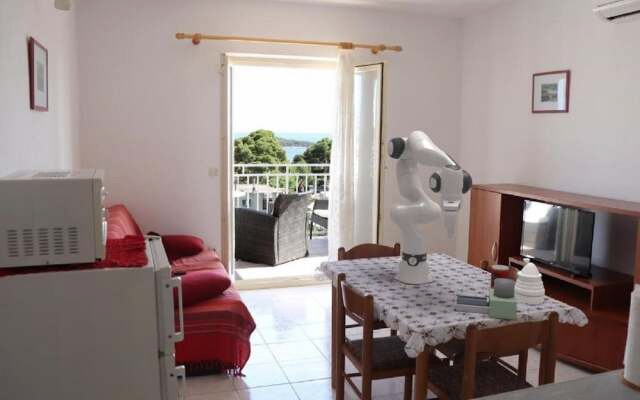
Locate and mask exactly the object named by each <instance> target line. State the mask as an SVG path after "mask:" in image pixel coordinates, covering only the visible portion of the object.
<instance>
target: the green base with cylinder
mask: <svg viewBox="0 0 640 400" xmlns="http://www.w3.org/2000/svg"><path fill="white" fill-rule="evenodd" d="M515 284H516V281H515V280H513V279H511V278H510V279H509V278H508V279H505V278H498V279H495V280H494V289H491V287H490V288H489V290H488V292H489V293H488V300H487V307H484V306H473V305H462V304H457V303H456V305H455V307H456V308H455V311H456V312H465V313H475V314H486V315H488V317H489V318H496V319H503V320H505V319H506V320H517V309H518V308H517V307H518V306H517V305H518V303H517V301H516V296H515V292H514V290H515Z"/></svg>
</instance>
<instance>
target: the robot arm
mask: <svg viewBox="0 0 640 400" xmlns="http://www.w3.org/2000/svg"><path fill="white" fill-rule="evenodd" d="M387 153H388V156H389V157H390V158H391V159H394V160H398V161H396V163H395V174H396V180H397V184H398V185H397V186H398V191H399V194H400V195H401V197H402V198H404V199H406V200H408V201H402V202H397V203H395V204H392V205H391V207H390V210H389V218H390V220H391V222H392V223H393V224H394V225H396V226H397V227H398V229H399V230H400V232H401V236H402V251H401V261H399V262H398V267H397V268H398V271H397V274H396V275H395V276H394V280H397V281H399V282H402V283H405V284H412V285H422V284H423V285H424V284H427V283H433V282H434V280H433V279H434V278H433V277H432V275H431V271H430V265H429V263H428V262H427V258H428V255H427V237H426V236H425V234H424V233H423V232H421V231H419V230H417V228H416V227H417V225H430V224H434V223H438V222H439V221H440V219H441V217H442V211H443V219H444V220H443V221H444V228H445V229H446V230H447V231H446V233H447V238H448V239H452V237H453V234H454V229H455V227H456V226H455V225H456V222H457V214H458V213H459V212H460V209H462V208H463V199H464V197H463V195H465V194H467V193H468V192H469V191H470V190H471V189H472V186H473V178H472V175H470V173H469V172H468V171H466V170H464V169H463V168H462V167H461V166H460V165H459V164H458V163H457V162H456V161H455V159H454V158H453V157H451V155H449V154H448V153H447V152H445V151H443V150H442V149H440V148H439V147H437V146H436V144H434V142H433V141H432V140H431V138H430V137H429V136H428V135H427V134H426V133H425V132H423V131H422V130H414V131H412V132H411V133H409V135H408V137H393V138H391V139H390V140H389V141H388V144H387ZM418 164H420V165H422V166H424V167H425V166H426V167H434V168H435V167H436V168H440V169H441V170H438V171H435V172H433V173H432V174H431V176H430V177H429V181H428V182H429V188H430V190H431V191H432V192H433V193H435V194H441V195H440V205H439V204H438V203H437V202H435V201H434V200H432V199H431V198H430V197H429V196H428V195H427V194H426V192H425V191H424V188H423V185H422V183H421V179H420V175H419V169H418Z"/></svg>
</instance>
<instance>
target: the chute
mask: <svg viewBox="0 0 640 400" xmlns="http://www.w3.org/2000/svg"><path fill="white" fill-rule="evenodd" d="M487 301H488V297H487V296H478V295H477V296H476V295H466V294H465V295H464V294H457V295H456V304H462V305H473V306H484V307H487Z"/></svg>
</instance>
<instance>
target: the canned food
mask: <svg viewBox="0 0 640 400" xmlns="http://www.w3.org/2000/svg"><path fill="white" fill-rule="evenodd" d="M509 271H510V269H509V266H507V265H502V264H494V265H492V266H491V271H490V273H491V274H490V289H494V280H495V279H498V278H505V279H509V276H510V275H509Z"/></svg>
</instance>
